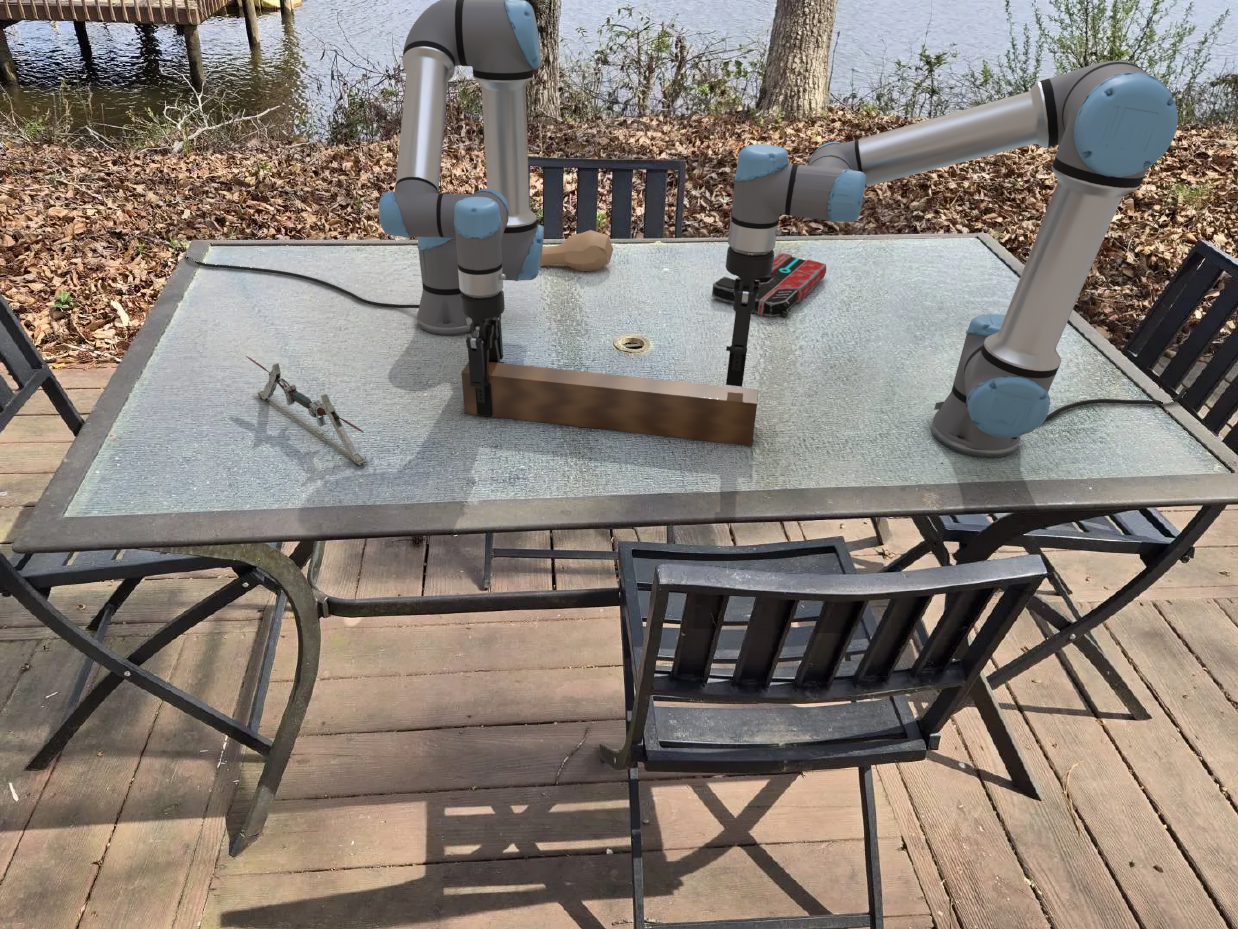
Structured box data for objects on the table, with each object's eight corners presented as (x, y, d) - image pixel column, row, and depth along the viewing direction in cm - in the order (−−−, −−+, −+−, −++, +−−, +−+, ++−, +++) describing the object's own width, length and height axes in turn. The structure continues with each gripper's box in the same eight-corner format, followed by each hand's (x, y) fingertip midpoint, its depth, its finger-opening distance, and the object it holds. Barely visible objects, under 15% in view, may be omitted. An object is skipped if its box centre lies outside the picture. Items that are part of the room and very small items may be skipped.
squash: (614, 275, 223) (610, 243, 217) (537, 282, 224) (531, 251, 218) (615, 253, 231) (611, 222, 224) (540, 260, 232) (534, 229, 226)
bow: (375, 468, 148) (367, 417, 142) (366, 472, 146) (358, 421, 141) (259, 389, 169) (248, 342, 163) (250, 392, 168) (239, 345, 162)
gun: (708, 284, 207) (784, 305, 199) (760, 245, 229) (831, 262, 221) (706, 302, 209) (781, 323, 201) (758, 261, 231) (828, 278, 223)
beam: (464, 413, 164) (460, 372, 159) (473, 400, 168) (469, 359, 163) (751, 445, 157) (757, 403, 152) (753, 430, 161) (758, 389, 156)
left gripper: (487, 313, 144) (494, 434, 157) (517, 273, 159) (521, 385, 172) (443, 309, 145) (454, 429, 158) (477, 269, 160) (484, 381, 173)
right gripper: (773, 278, 129) (755, 404, 141) (776, 224, 149) (761, 337, 161) (722, 273, 130) (708, 398, 142) (732, 220, 150) (720, 333, 162)
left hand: (489, 406), depth 165 cm, fingers closed on beam, 5 cm apart
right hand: (736, 366), depth 152 cm, fingers open, 13 cm apart
